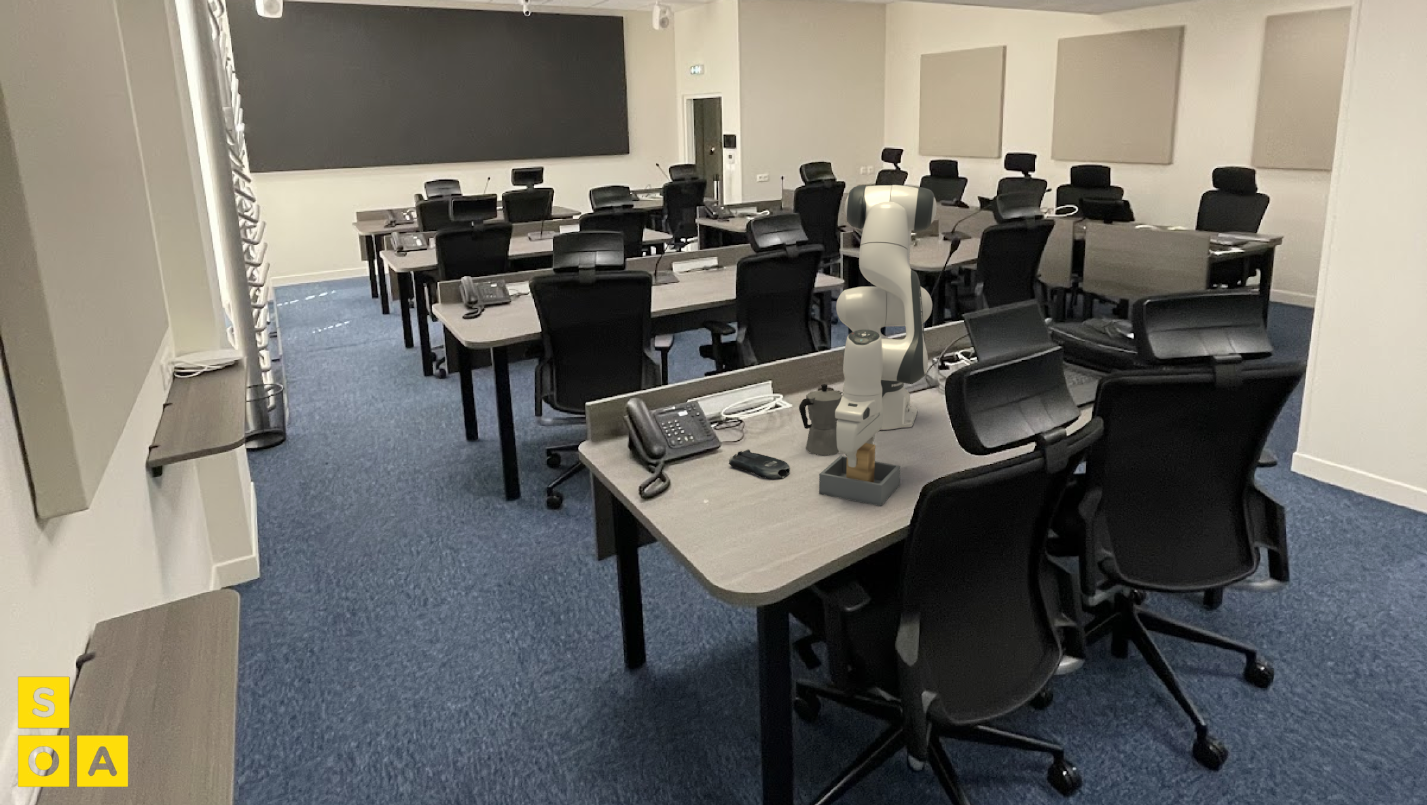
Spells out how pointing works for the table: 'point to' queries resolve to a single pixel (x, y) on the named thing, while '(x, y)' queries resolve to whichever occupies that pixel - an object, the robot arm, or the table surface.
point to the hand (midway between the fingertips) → (860, 458)
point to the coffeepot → (821, 421)
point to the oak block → (863, 464)
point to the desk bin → (859, 482)
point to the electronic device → (759, 464)
